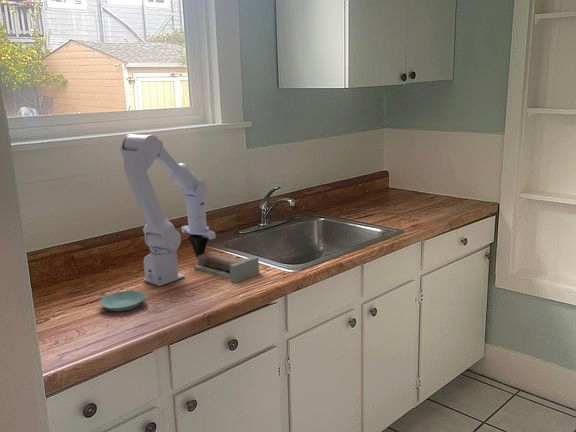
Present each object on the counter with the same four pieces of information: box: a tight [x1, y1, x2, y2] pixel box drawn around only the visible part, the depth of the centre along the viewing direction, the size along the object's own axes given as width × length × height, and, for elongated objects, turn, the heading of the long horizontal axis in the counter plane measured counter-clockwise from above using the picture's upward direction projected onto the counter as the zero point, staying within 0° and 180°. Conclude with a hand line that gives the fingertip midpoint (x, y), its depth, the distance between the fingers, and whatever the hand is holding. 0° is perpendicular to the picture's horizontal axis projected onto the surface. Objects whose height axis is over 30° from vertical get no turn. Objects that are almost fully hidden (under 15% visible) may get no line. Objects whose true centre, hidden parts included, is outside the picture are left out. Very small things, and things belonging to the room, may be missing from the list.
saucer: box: [99, 290, 146, 312], centre depth 156 cm, size 12×12×2 cm
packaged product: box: [193, 250, 244, 280], centre depth 181 cm, size 18×5×10 cm
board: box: [229, 256, 260, 283], centre depth 173 cm, size 10×2×5 cm, turn 138°
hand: (200, 256), depth 187 cm, fingers closed
